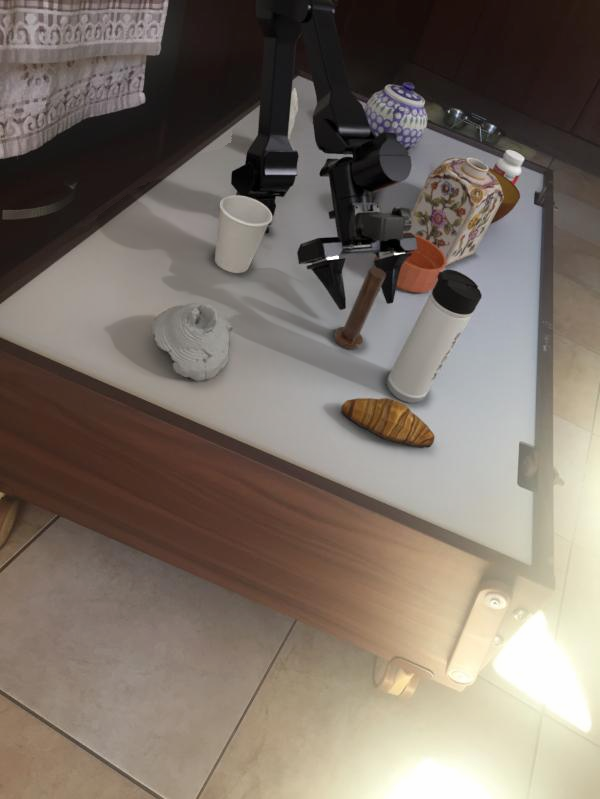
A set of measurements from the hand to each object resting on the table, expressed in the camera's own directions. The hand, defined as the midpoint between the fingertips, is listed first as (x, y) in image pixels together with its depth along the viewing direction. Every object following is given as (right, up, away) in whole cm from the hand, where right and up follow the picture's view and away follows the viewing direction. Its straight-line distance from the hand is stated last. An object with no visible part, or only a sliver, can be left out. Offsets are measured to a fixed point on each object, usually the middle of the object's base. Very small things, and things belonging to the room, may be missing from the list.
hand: (367, 306), depth 108 cm
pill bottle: (+36, +34, +65) cm, 82 cm away
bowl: (+25, +25, +50) cm, 61 cm away
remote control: (+4, +30, +47) cm, 56 cm away
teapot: (+11, +48, +70) cm, 86 cm away
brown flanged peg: (-3, -5, +5) cm, 7 cm away
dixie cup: (-21, +8, +11) cm, 25 cm away
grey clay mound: (-25, -8, -8) cm, 27 cm away
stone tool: (-15, +37, +45) cm, 60 cm away
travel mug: (+6, -12, +1) cm, 14 cm away
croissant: (+2, -18, -7) cm, 20 cm away
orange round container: (+9, +9, +25) cm, 28 cm away
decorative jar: (+18, +17, +38) cm, 46 cm away
